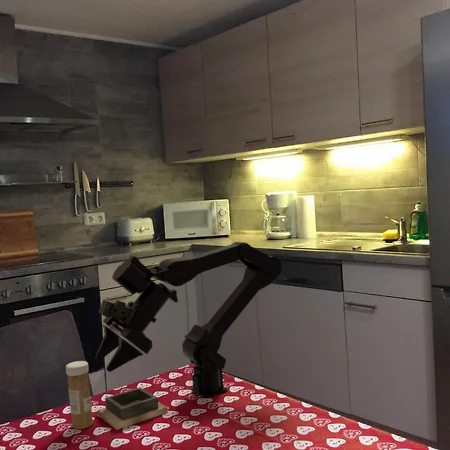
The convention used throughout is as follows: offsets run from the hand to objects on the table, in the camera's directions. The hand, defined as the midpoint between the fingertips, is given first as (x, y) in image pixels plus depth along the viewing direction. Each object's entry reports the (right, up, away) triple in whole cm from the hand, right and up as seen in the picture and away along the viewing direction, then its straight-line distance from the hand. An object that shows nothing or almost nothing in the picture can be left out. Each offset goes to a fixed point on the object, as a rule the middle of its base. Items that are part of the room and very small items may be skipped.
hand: (102, 365), depth 118 cm
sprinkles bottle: (-4, -13, -2) cm, 13 cm away
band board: (+6, -11, +2) cm, 13 cm away
